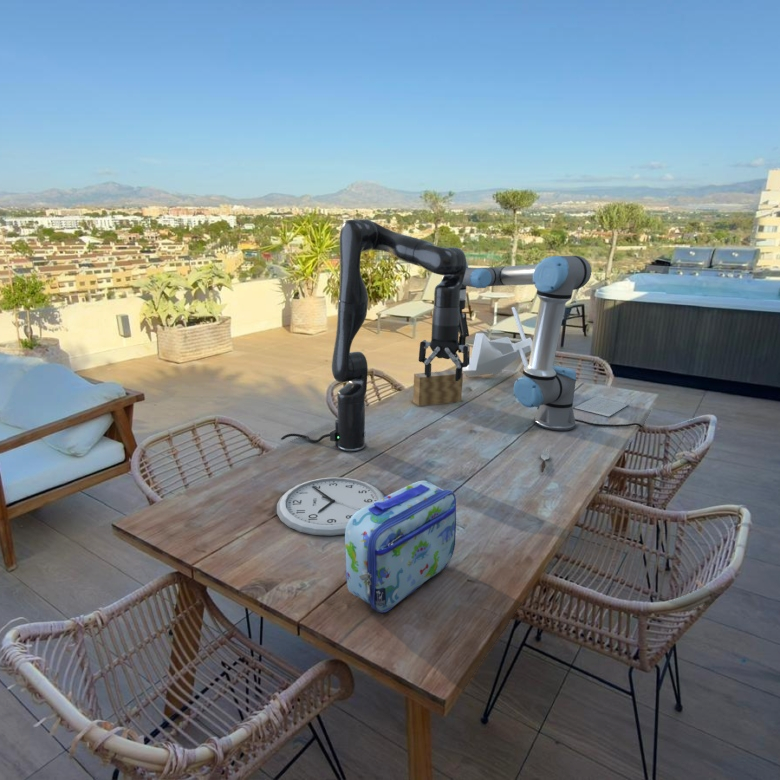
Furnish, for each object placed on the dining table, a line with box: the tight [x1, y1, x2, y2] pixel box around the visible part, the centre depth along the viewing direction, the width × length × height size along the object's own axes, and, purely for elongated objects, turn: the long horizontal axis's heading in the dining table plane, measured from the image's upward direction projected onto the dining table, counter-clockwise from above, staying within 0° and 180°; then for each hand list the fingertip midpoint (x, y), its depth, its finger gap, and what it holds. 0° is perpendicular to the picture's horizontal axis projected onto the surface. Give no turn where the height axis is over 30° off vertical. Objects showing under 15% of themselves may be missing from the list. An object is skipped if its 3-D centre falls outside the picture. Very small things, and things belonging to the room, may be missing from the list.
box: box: [412, 369, 464, 407], centre depth 227 cm, size 20×6×13 cm, turn 111°
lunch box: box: [344, 480, 457, 614], centre depth 109 cm, size 26×11×21 cm, turn 135°
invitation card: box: [573, 396, 629, 418], centre depth 226 cm, size 21×1×15 cm
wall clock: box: [276, 476, 386, 537], centre depth 142 cm, size 30×2×30 cm
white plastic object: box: [462, 306, 533, 377], centre depth 260 cm, size 37×45×31 cm
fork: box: [540, 448, 551, 473], centre depth 170 cm, size 3×16×2 cm, turn 160°
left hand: (442, 378), depth 149 cm, fingers open, 8 cm apart
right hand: (453, 348), depth 225 cm, fingers open, 13 cm apart
